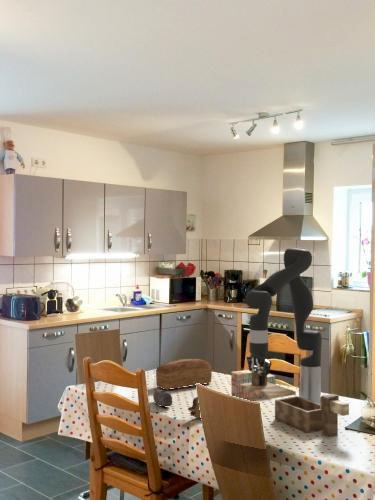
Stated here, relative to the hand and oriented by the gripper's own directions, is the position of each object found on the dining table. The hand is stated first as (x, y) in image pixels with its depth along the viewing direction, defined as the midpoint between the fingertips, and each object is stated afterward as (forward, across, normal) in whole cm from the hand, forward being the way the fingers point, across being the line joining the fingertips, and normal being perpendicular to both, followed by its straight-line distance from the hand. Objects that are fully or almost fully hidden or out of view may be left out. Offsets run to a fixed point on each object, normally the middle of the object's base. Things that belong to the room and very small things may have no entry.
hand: (258, 383), depth 221 cm
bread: (+17, +74, -6) cm, 76 cm away
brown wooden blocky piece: (+17, -9, -18) cm, 26 cm away
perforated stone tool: (+17, +47, +20) cm, 54 cm away
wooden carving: (+17, +22, +13) cm, 31 cm away
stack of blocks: (+17, +40, -26) cm, 51 cm away
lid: (+2, -5, 0) cm, 5 cm away
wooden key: (+7, -23, -18) cm, 30 cm away
